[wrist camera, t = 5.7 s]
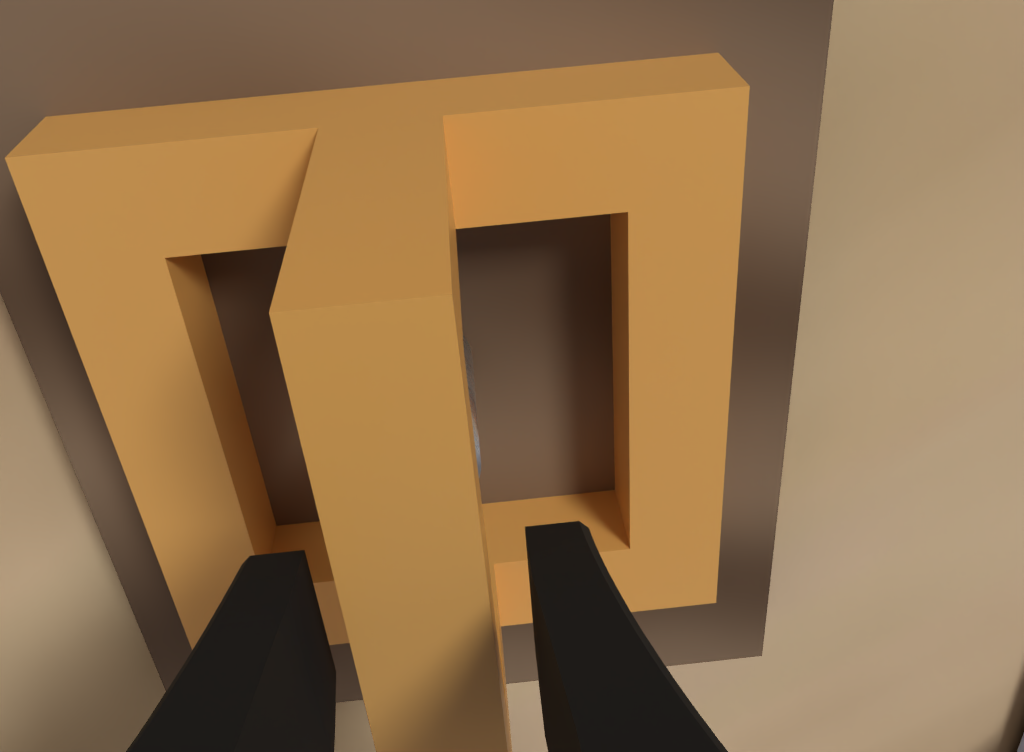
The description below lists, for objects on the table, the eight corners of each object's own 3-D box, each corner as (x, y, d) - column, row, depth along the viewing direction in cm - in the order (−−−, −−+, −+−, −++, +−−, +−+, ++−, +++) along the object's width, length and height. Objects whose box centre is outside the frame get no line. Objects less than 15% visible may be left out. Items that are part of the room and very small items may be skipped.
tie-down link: (695, 542, 18) (801, 852, 13) (211, 594, 18) (129, 929, 13) (718, 52, 13) (903, 249, 8) (45, 116, 13) (-197, 358, 8)
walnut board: (748, 618, 21) (762, 655, 20) (188, 679, 20) (177, 719, 20) (854, -496, 11) (890, -516, 10) (-240, -410, 10) (-297, -422, 10)
